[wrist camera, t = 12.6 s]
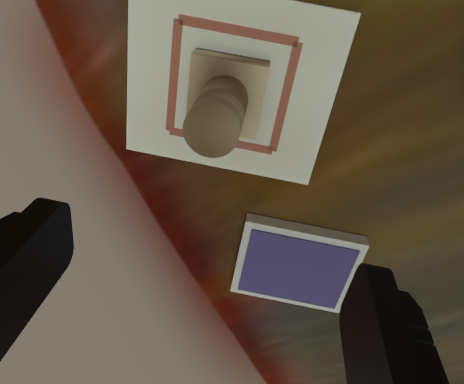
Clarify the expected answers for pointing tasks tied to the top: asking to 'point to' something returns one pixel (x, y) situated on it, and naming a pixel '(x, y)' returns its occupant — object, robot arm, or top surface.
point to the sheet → (246, 44)
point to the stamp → (223, 100)
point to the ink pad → (296, 262)
